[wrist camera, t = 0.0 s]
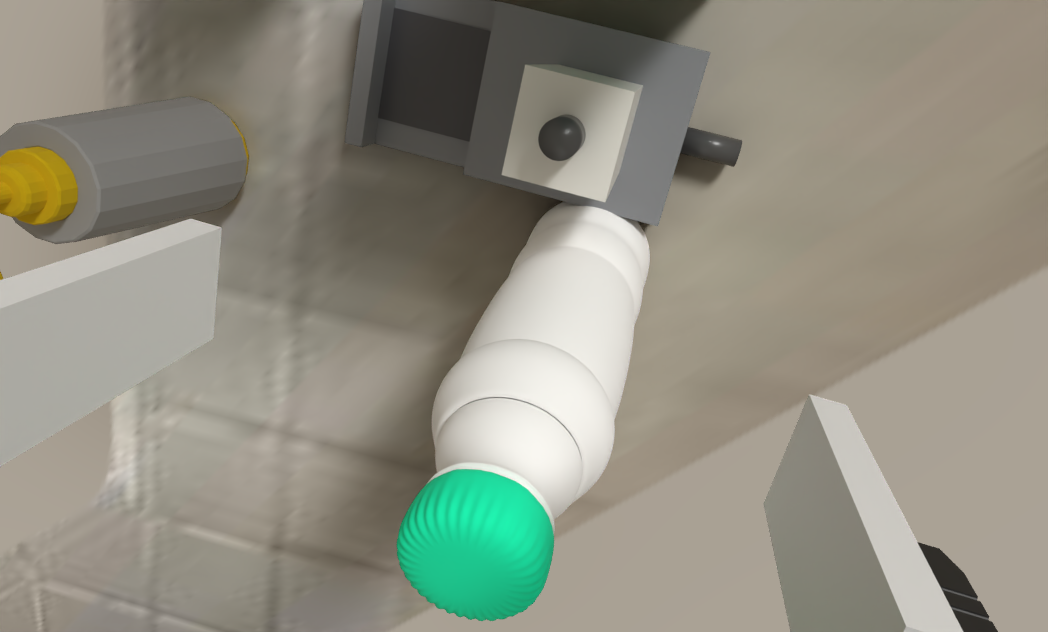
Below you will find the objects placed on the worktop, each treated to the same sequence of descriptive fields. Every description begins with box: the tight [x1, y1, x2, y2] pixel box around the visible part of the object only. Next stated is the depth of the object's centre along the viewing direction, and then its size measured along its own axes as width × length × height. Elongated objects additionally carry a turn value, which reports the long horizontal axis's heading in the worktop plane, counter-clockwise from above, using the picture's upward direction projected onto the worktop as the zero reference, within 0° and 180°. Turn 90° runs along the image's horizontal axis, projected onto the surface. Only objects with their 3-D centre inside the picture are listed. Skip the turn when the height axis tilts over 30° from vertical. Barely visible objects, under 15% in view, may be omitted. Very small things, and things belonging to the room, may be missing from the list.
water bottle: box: [397, 201, 650, 621], centre depth 32 cm, size 7×7×25 cm
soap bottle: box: [0, 97, 249, 280], centre depth 38 cm, size 7×7×18 cm
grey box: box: [345, 0, 742, 226], centre depth 35 cm, size 9×21×14 cm, turn 76°
